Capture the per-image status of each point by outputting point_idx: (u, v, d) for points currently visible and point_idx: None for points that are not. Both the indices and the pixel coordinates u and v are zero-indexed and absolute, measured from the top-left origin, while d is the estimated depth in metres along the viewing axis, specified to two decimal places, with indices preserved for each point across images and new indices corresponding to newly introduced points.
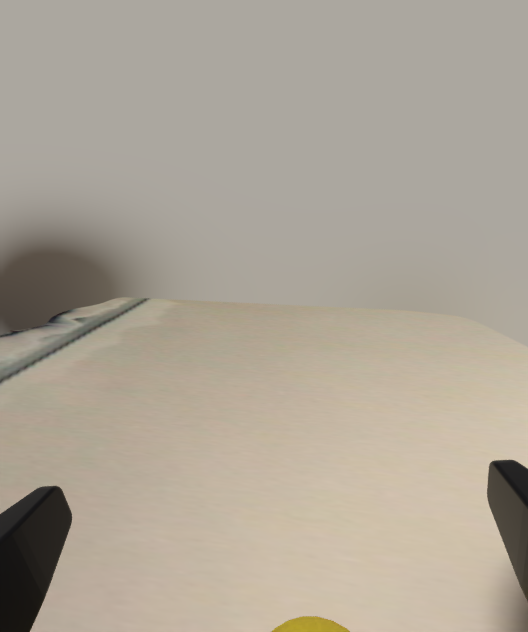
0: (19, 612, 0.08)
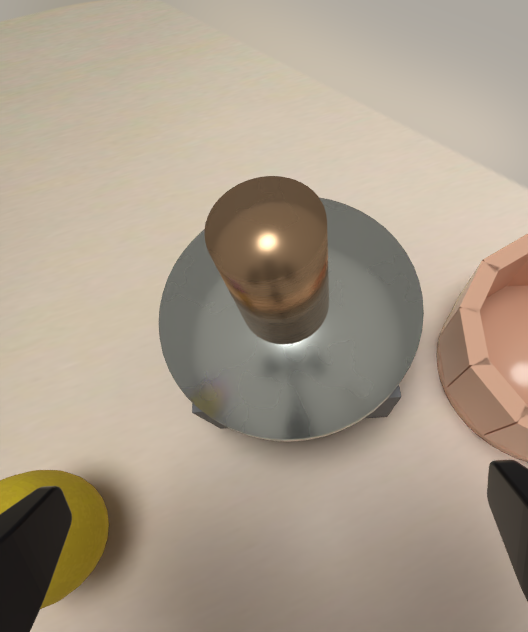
0: (19, 612, 0.08)
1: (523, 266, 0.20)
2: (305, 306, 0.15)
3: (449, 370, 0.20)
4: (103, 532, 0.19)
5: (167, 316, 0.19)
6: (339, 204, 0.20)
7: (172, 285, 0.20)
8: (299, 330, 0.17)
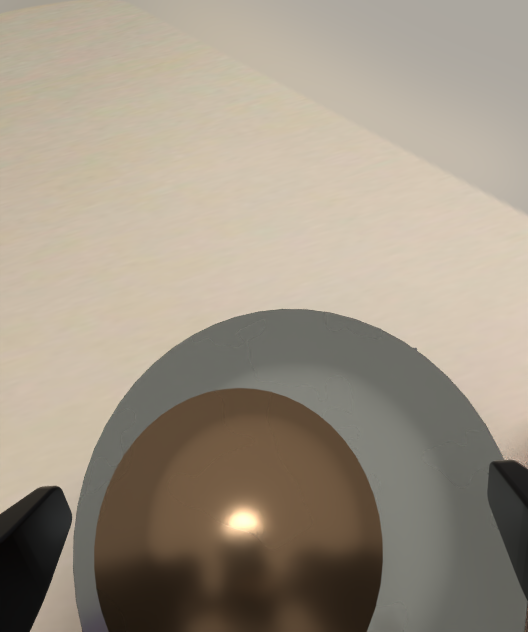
0: (19, 612, 0.07)
1: None
2: None
3: None
4: None
5: (88, 524, 0.12)
6: (369, 328, 0.13)
7: (100, 463, 0.12)
8: None
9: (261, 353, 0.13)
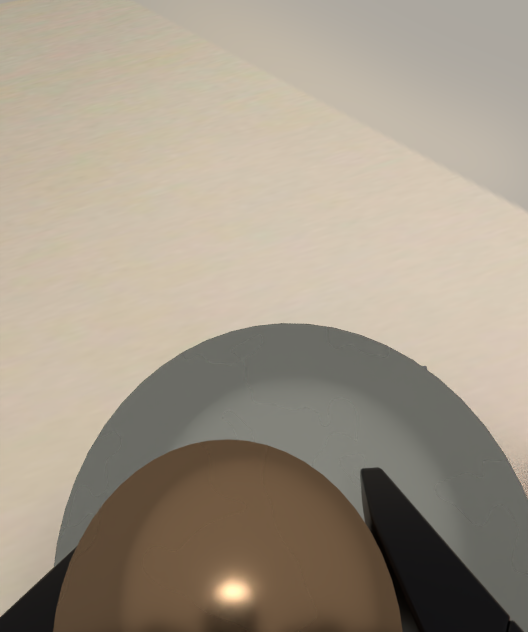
0: None
1: None
2: None
3: None
4: None
5: None
6: (376, 345, 0.12)
7: (83, 492, 0.11)
8: None
9: (258, 372, 0.12)
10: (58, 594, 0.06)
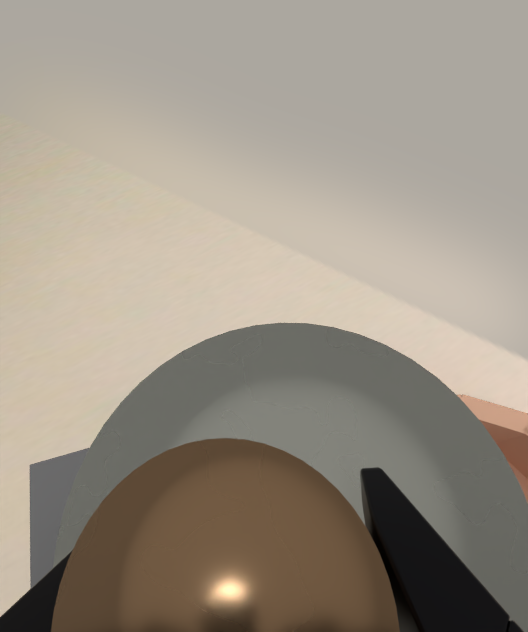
0: None
1: None
2: None
3: None
4: None
5: None
6: (374, 344, 0.12)
7: (82, 492, 0.11)
8: None
9: (257, 371, 0.12)
10: None
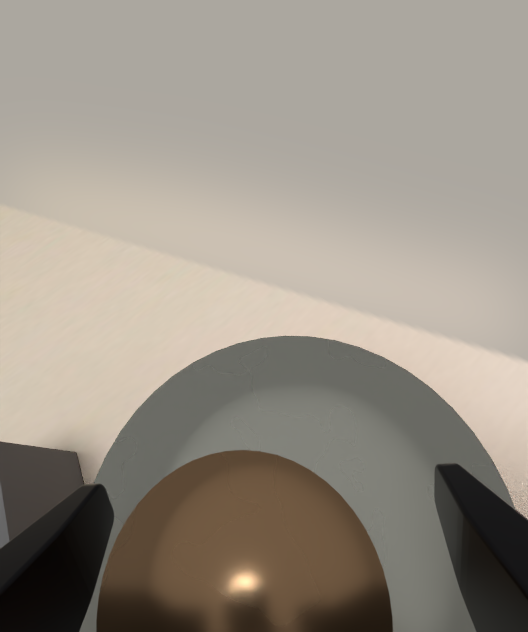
0: (70, 611, 0.07)
1: None
2: None
3: None
4: None
5: None
6: (373, 356, 0.13)
7: None
8: None
9: (264, 381, 0.13)
10: None
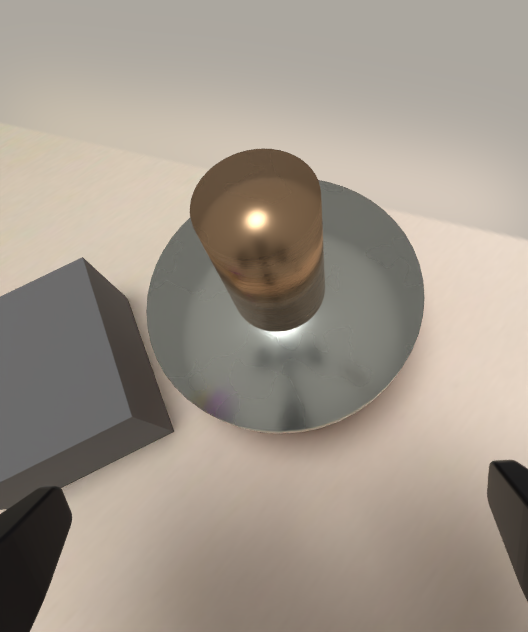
0: (19, 612, 0.08)
1: None
2: (299, 288, 0.14)
3: None
4: None
5: (156, 303, 0.18)
6: (335, 186, 0.19)
7: (161, 271, 0.19)
8: (293, 316, 0.16)
9: None
10: None
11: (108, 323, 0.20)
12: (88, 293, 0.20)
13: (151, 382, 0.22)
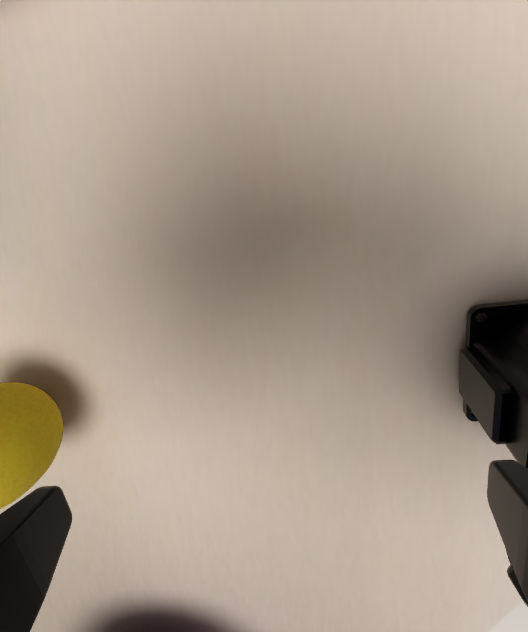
0: (19, 612, 0.08)
1: None
2: None
3: None
4: (11, 390, 0.20)
5: None
6: None
7: None
8: None
9: None
10: None
11: None
12: None
13: None
